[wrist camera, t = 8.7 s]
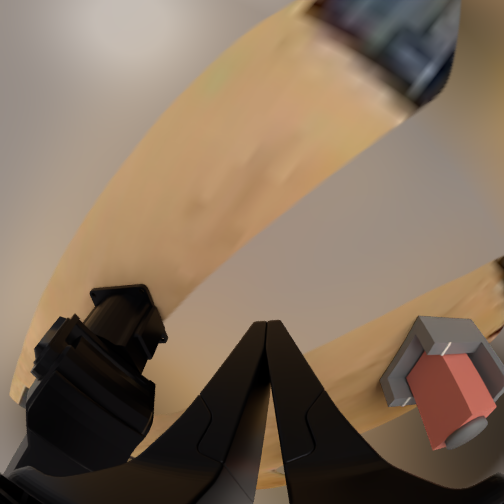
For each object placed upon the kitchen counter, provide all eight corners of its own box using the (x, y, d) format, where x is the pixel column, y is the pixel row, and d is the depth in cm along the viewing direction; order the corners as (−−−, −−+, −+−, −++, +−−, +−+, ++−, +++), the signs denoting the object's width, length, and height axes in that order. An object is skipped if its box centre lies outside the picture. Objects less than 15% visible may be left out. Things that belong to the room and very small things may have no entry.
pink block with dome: (404, 377, 25) (433, 457, 16) (430, 338, 23) (474, 422, 13) (432, 376, 26) (462, 447, 16) (458, 338, 23) (500, 412, 13)
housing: (379, 380, 27) (401, 452, 18) (418, 315, 23) (462, 392, 14) (431, 377, 28) (457, 438, 19) (471, 318, 23) (513, 380, 14)
